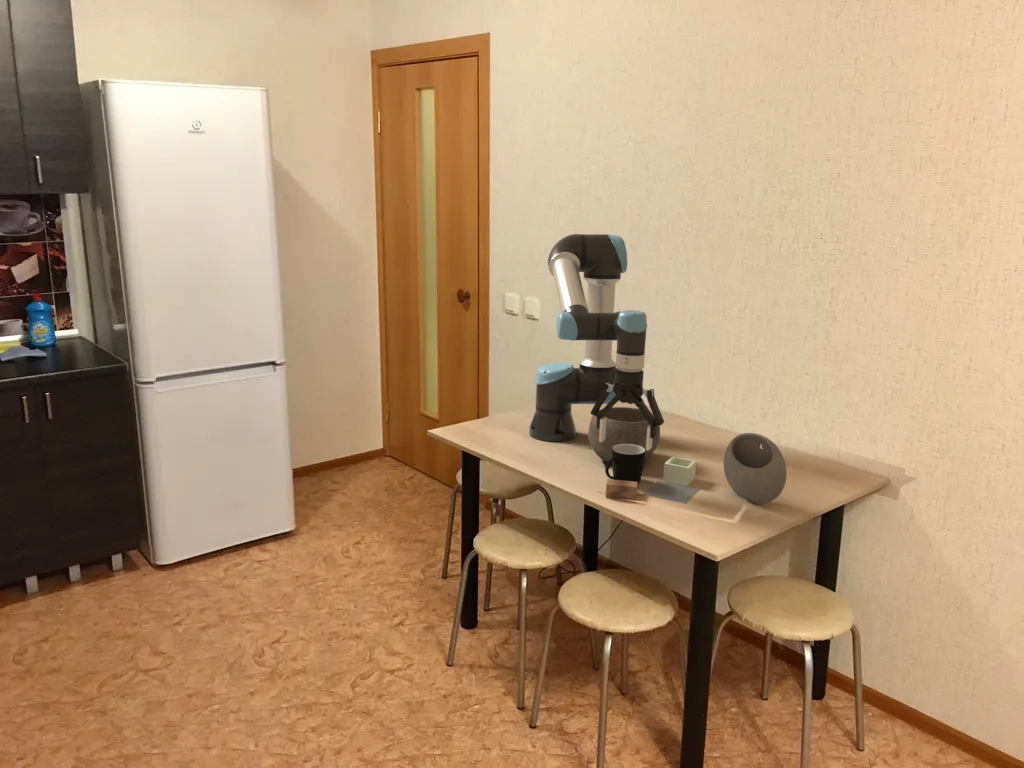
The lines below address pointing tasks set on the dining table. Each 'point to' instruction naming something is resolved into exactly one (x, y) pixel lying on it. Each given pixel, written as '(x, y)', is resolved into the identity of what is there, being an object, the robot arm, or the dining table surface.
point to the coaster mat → (671, 492)
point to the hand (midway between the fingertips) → (625, 444)
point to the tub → (679, 471)
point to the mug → (626, 462)
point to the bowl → (621, 431)
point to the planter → (755, 468)
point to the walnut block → (621, 489)
